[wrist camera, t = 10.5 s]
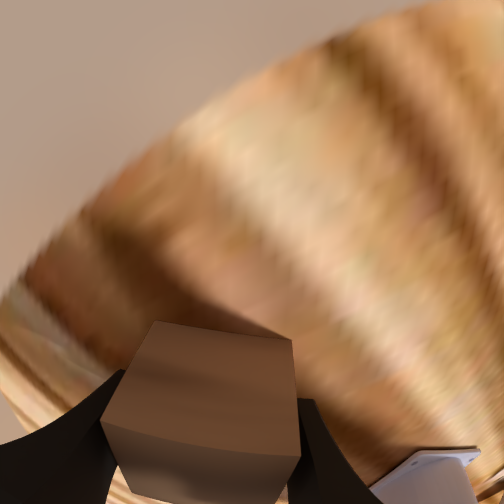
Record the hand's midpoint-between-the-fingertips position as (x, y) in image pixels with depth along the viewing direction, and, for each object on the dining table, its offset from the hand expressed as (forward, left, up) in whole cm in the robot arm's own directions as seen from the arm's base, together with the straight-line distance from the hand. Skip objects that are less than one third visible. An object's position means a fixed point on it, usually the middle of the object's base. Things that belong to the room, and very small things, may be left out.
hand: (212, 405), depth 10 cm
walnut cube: (0, 0, -2) cm, 2 cm away
